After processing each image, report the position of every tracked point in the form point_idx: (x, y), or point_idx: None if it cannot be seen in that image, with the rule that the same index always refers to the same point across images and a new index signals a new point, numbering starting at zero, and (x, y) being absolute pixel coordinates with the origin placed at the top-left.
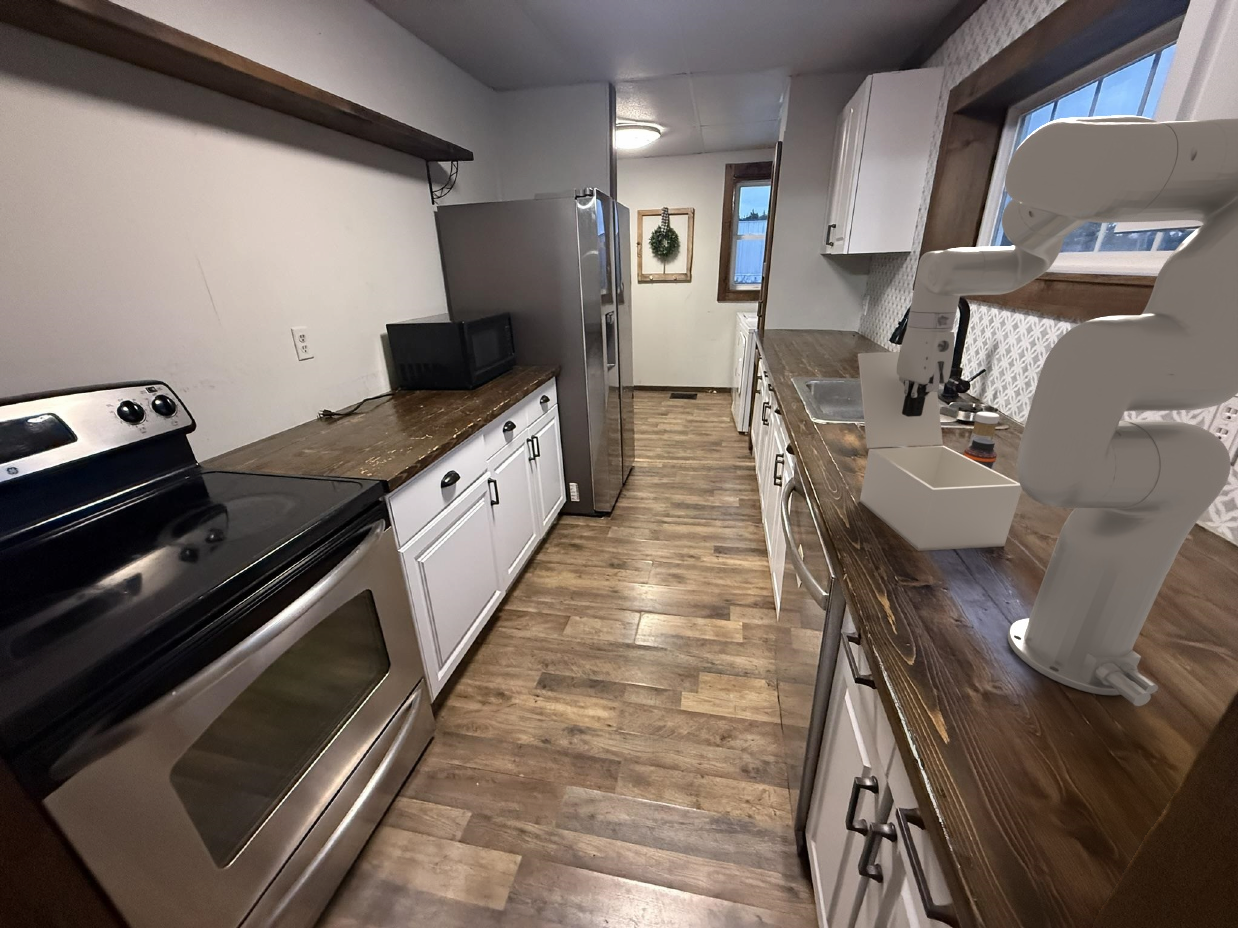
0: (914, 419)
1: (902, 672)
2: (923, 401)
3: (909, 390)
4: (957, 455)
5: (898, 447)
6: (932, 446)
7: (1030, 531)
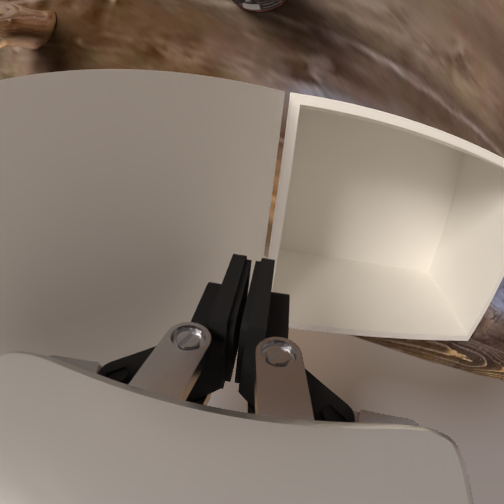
0: (208, 209)
1: (484, 371)
2: (267, 311)
3: (206, 402)
4: (374, 119)
5: (53, 29)
6: (288, 136)
7: (444, 60)
